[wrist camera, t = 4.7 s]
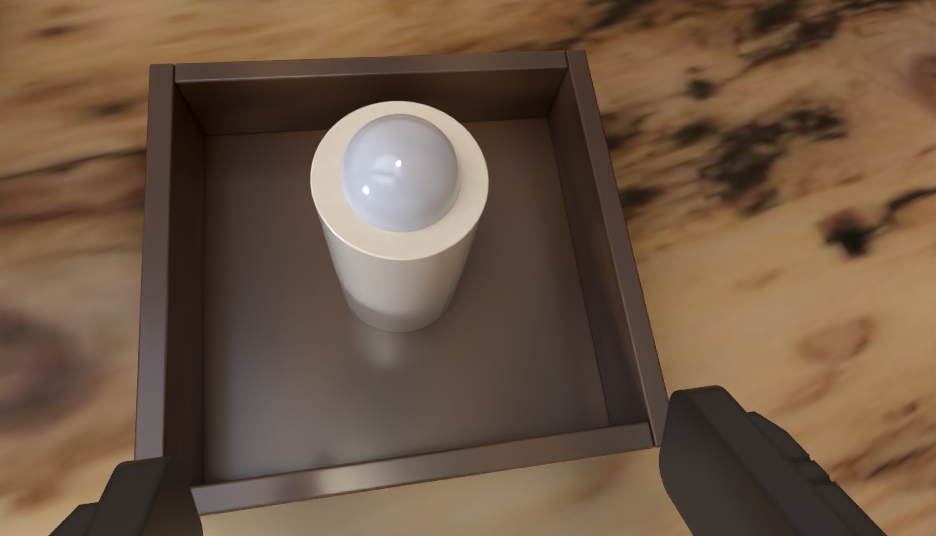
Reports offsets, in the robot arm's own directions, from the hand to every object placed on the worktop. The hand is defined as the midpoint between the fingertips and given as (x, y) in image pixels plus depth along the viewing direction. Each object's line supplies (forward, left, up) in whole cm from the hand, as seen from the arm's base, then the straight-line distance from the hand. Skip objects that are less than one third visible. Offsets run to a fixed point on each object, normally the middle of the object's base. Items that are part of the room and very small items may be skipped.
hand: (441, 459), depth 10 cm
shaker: (-5, +4, -11) cm, 13 cm away
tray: (-5, +4, -11) cm, 13 cm away
